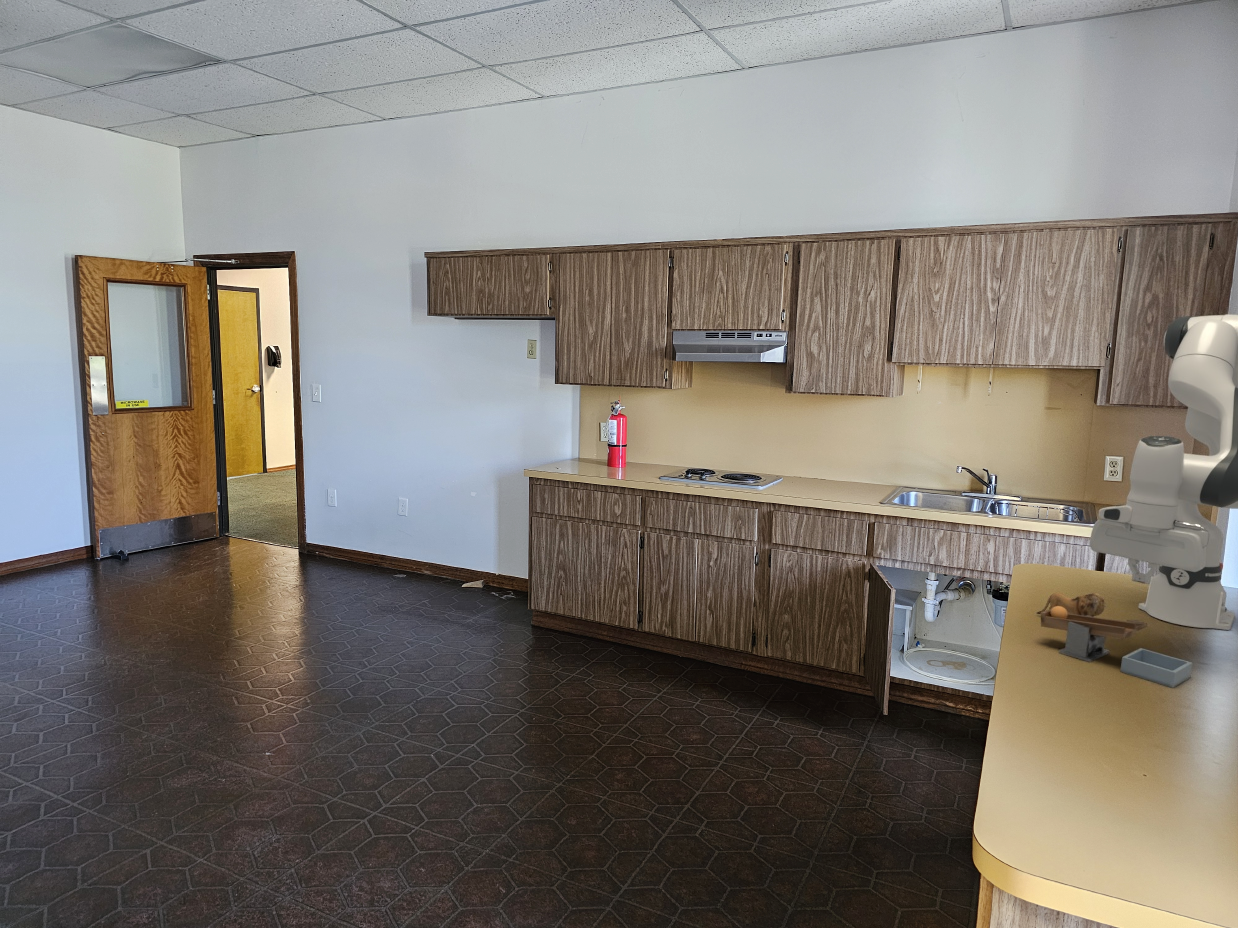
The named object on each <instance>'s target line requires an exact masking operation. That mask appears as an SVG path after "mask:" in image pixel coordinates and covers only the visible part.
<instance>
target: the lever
mask: <svg viewBox="0 0 1238 928" xmlns="http://www.w3.org/2000/svg"><path fill="white" fill-rule="evenodd" d="M1050 612H1051V609H1049V608H1048V609H1046V610H1045V611H1044V612H1041V614H1040V627H1042V628H1047V629H1055V630H1061V631H1065V632H1066V631H1067V630H1068V623H1069V622H1073V623H1077V624H1080V625H1084V626H1088V627H1091V634H1092V635H1099V636H1105V638H1106V637H1107V638H1112V639H1120V640H1126V639H1128V638H1130V637H1132V636H1135V635H1136V634H1137V632H1139V631H1141V630H1143V629H1145V628H1148V622H1145V621H1143V620H1141V619H1139V620H1138V619H1127V620H1126V621H1125V620H1124V621H1123V620H1117V619H1110V618H1103V617H1102V618H1101V617H1097V616H1094V617H1090V616H1082V615H1075V614H1068V613H1067V614H1068V615H1067V618H1066V619H1062V618H1055V617H1051V614H1050Z"/></svg>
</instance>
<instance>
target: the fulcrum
mask: <svg viewBox="0 0 1238 928" xmlns="http://www.w3.org/2000/svg"><path fill="white" fill-rule="evenodd" d="M1087 616H1088V615H1087ZM1090 617H1092V616H1090ZM1105 642H1106V637H1105V636H1099V635H1092V634H1091V627H1088V626H1084V625H1080V624H1077V623H1073V622H1069V623H1068V630H1067V633H1066V639H1065V647H1064V648H1061V649H1059V650H1058V654H1062V655H1065V656H1068V657H1071V658H1074V659H1077V658H1078V660H1081V661H1084V662H1088V663H1091V662H1093V661H1096V660H1097V659H1100V658H1102V657H1104V656H1106V655H1109V654H1110V650H1109V649H1106V648H1105V645H1106V643H1105Z"/></svg>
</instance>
